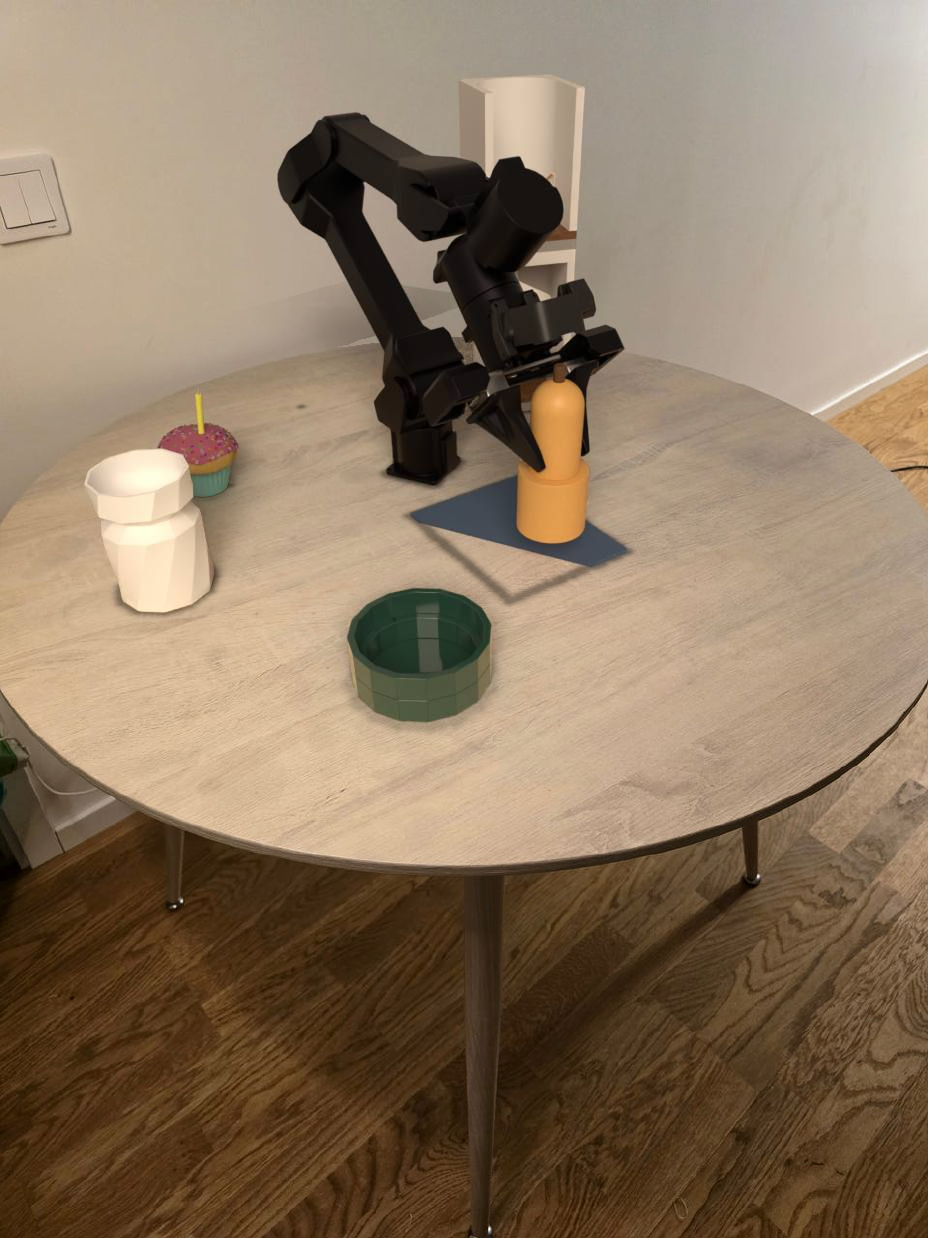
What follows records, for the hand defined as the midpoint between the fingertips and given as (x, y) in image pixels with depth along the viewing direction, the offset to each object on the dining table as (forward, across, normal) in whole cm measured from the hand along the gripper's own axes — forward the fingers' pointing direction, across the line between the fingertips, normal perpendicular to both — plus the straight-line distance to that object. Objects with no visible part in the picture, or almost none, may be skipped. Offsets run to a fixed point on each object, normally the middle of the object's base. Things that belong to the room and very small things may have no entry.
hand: (564, 462), depth 76 cm
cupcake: (-16, -22, +33) cm, 43 cm away
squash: (+4, 0, +6) cm, 7 cm away
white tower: (-16, +21, +32) cm, 42 cm away
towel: (+3, 0, +13) cm, 13 cm away
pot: (+12, -19, +4) cm, 23 cm away
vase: (-5, -32, +22) cm, 39 cm away
